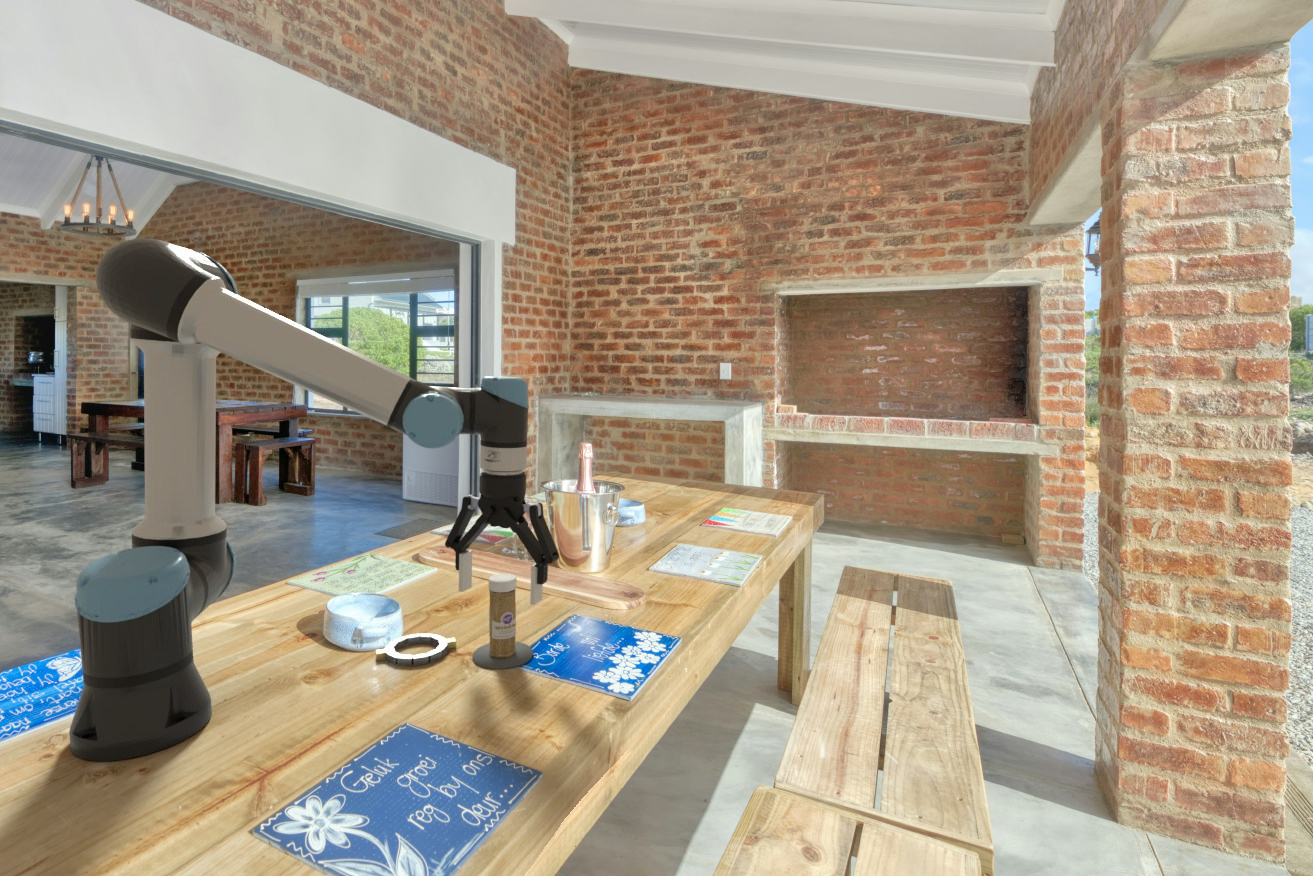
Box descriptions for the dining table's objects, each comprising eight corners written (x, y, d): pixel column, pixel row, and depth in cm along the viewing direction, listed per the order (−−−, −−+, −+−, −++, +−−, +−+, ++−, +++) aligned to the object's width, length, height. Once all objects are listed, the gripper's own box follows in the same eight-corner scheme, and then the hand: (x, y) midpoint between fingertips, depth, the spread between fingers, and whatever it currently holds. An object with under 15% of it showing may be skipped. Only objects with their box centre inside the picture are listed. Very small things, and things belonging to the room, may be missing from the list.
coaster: (479, 673, 109) (479, 671, 109) (467, 648, 118) (467, 646, 118) (540, 662, 114) (540, 660, 114) (523, 639, 123) (523, 637, 122)
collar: (379, 671, 109) (379, 664, 109) (374, 646, 118) (373, 640, 118) (460, 657, 115) (460, 650, 115) (450, 634, 124) (450, 628, 123)
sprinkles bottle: (500, 661, 113) (499, 583, 111) (483, 653, 116) (482, 577, 114) (522, 652, 116) (522, 576, 114) (505, 645, 119) (505, 570, 117)
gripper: (424, 466, 112) (423, 590, 115) (561, 482, 104) (557, 615, 107) (451, 460, 119) (449, 577, 122) (582, 475, 112) (577, 600, 114)
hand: (500, 595), depth 114 cm, fingers open, 13 cm apart
